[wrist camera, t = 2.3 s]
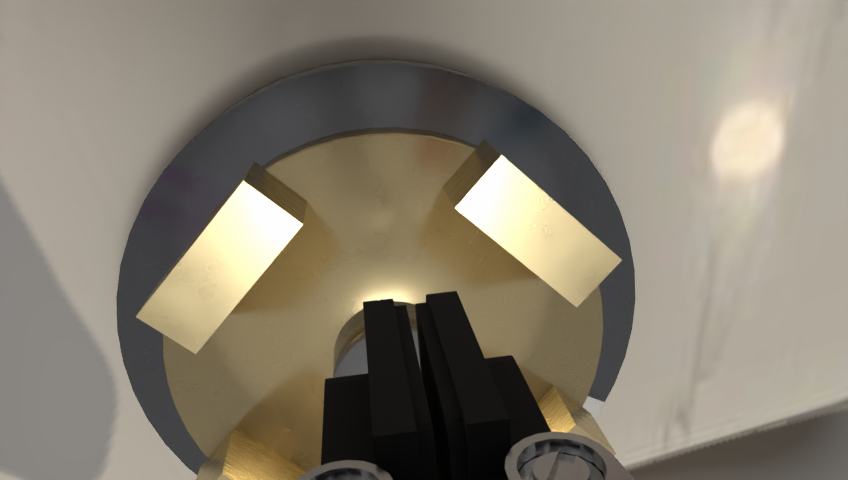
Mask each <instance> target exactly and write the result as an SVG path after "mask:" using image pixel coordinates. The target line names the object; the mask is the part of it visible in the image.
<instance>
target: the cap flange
mask: <svg viewBox="0 0 848 480" xmlns="http://www.w3.org/2000/svg"><path fill="white" fill-rule="evenodd" d="M380 127H402V128H412V129H422V130H429V131H433V132H437V133H441V134H446V135H450V136H454V137H457V138H460V139H462V140H465V141H467V142H470V143H472V144H475V145H479V144H480V143H481V142H482V141H483V139H485V140H486V141H487V142H488V143H489V144H490V145H491V146H493V147H494V148H495V149H496V150H497V151H498V152H499V153H501V154H502V155H503V156H504V157H505V158H506V159H507V160H509V161H510V162H511V163H512V164H513V165H514V166H516V167H517V168H518V169H519V170H520V171H521V172H522V173H524V174H525V175H526V176H527V177H528V178H529V179H531V180H532V181H533V182H534V183H535V184H536V185H537V186H538V187H540V188H541V189H542V190H543V191H544V192H545V193H546V194H548V195H549V196H550V197H551V198H552V199H553V200H554V201H556V202H557V203H558V204H559V205H560V206H561V207H562V208H564V209H565V210H566V211H567V212H568V213H569V214H570V215H572V216H573V217H574V218H575V219H576V220H577V221H578V222H580V223H581V224H582V225H583V226H584V227H585V228H586V229H588V230H589V231H590V232H591V233H592V234H593V235H594V236H596V237H597V238H598V239H599V240H600V241H601V242H602V243H603V244H605V245H606V246H607V247H608V248H609V249H610V250H611V251H613V252H614V253H615V254H616V255H617V256H618V257H619V258H620V259H622V261H621V262H620V263H619V264H618V265H617V266H616V267H615V268H614V269H613V270H612V271H611V272H610V273H609V275H608V276H607V277H606V278H605V279H604V280H603V281H602V282H601V283H600V284H599V289H600V295H601V300H602V313H603V335H602V346H601V354H600V358H599V362H598V366H597V371H596V375H595V378H594V381H593V383H592V386H591V388H590V391H589V394H588V396H587V399H586V401H585V403H584V405H583V406H582V407H583V408H584V409H586V410H587V411H588V412H590V413H591V415H592V416H593V418H596V417H597V415H598V414H599V412H600V411H601V409H602V407H603V406H604V404H605V400H606V398H607V396H608V395H609V393H610V391H611V389H612V387H613V385H614V383H615V381H616V378H617V376H618V373H619V371H620V368H621V366H622V363H623V360H624V358H625V354H626V350H627V346H628V342H629V338H630V334H631V330H632V324H633V314H634V305H635V276H634V265H633V259H632V253H631V247H630V242H629V238H628V235H627V232H626V228H625V225H624V222H623V219H622V216H621V213H620V210H619V208H618V206H617V204H616V202H615V200H614V198H613V196H612V194H611V192H610V190H609V188H608V186H607V184H606V182H605V181H604V179H603V178H602V176H601V175H600V173H599V172H598V171H597V169H596V168H595V166H594V165H593V163H592V162H591V160H590V159H589V158H588V156H587V155H586V154H585V153H584V152H583V151H582V150H581V149H580V148H579V146H578V145H577V144H576V143H575V142H574V141H573V140H572V139H571V138H570V137H569V136H568V135H567V134H566V133H565V131H563V130H562V129H561V128H560V127H558V126H557V125H556V124H555V123H553V122H552V121H551V120H550V119H548V118H547V117H546V116H545V115H543V114H542V113H541V112H540V111H538V110H537V109H535V108H533V107H532V106H530V105H528V104H527V103H525V102H523V101H521V100H520V99H518V98H516V97H515V96H513V95H511V94H510V93H508V92H506V91H504V90H502V89H500V88H498V87H496V86H494V85H492V84H489V83H487V82H484V81H482V80H480V79H477V78H475V77H472V76H470V75H468V74H465V73H463V72H460V71H456V70H452V69H448V68H444V67H441V66H437V65H433V64H429V63H422V62H413V61H405V60H397V59H376V60H354V61H348V62H341V63H335V64H328V65H323V66H320V67H316V68H313V69H309V70H306V71H303V72H299V73H296V74H293V75H290V76H287V77H285V78H283V79H281V80H279V81H276V82H274V83H272V84H270V85H267V86H265V87H263V88H261V89H259V90H257V91H255V92H254V93H252V94H251V95H249V96H247V97H246V98H244V99H243V100H241V101H240V102H238V103H236V104H235V105H233V106H232V107H230V108H229V109H227V110H226V111H225V112H224V113H223V114H222V115H220V116H219V117H218V118H217V119H216V120H214V121H213V122H212V123H211V124H210V125H209V126H207V127H206V128H205V129H204V130H203V131H202V132H200V133H199V134H198V135H197V136H196V137H195V138H194V139H192V140H191V141H190V142H189V143H188V144H187V145H186V146H185V147H184V149H183V150H182V151H181V152H180V153H179V154H178V155H177V156H176V158H175V159H174V160H173V161H172V162H171V163H170V164H169V166H168V167H167V168H166V169H165V170H164V171H163V173H162V174H161V176H160V178H159V179H158V181H157V182H156V184H155V185H154V187H153V188H152V190H151V191H150V193H149V194H148V196H147V197H146V199H145V201H144V203H143V205H142V207H141V209H140V211H139V214H138V216H137V218H136V220H135V222H134V225H133V227H132V229H131V231H130V234H129V238H128V241H127V245H126V248H125V252H124V255H123V259H122V262H121V266H120V275H119V283H118V291H117V328H118V336H119V341H120V346H121V352H122V357H123V362H124V365H125V368H126V371H127V374H128V377H129V380H130V383H131V386H132V388H133V391H134V393H135V395H136V397H137V399H138V401H139V403H140V405H141V407H142V409H143V411H144V413H145V415H146V417H147V418H148V420H149V421H150V423H151V424H152V426H153V427H154V428H155V430H156V431H157V433H158V434H159V435H160V437H161V438H162V440H163V441H164V443H165V444H166V445H167V446H168V447H169V448H170V449H171V450H172V451H173V452H174V453H175V455H176V456H177V457H178V458H179V459H180V460H181V461H182V462H183V463H184V464H185V465H186V466H187V467H188V468H189V469H190V470H192V471H193V472H194V473H195V474H197V475H198V472H199V469H200V466H201V465H202V464H203V463H204V462H205V461H206V460H207V457H206V455H205V454H204V453H203V452H202V451H201V450H200V448H199V447H198V445H197V444H196V442H195V441H194V439H193V438H192V437H191V435H190V434H189V432H188V431H187V429H186V427H185V425H184V423H183V421H182V419H181V417H180V415H179V413H178V411H177V409H176V407H175V404H174V401H173V397H172V394H171V391H170V388H169V385H168V382H167V376H166V369H165V363H164V357H163V334H162V333H161V332H159V331H158V330H156V329H154V328H153V327H151V326H150V325H148V324H146V323H145V322H143V321H141V320H140V319H138V318H137V317H136V315H137V314H138V312H139V311H140V309H141V308H142V306H143V305H144V303H145V302H146V300H147V299H148V297H149V296H150V294H151V293H152V291H153V290H154V288H155V287H156V285H157V284H158V283H159V281H160V280H161V279H162V278H163V276H164V275H165V274H166V273H167V271H168V270H169V269H170V267H171V266H172V265H173V264H174V262H175V261H176V260H177V259H178V257H179V256H180V255H181V254H182V252H183V251H184V250H185V248H186V247H187V246H188V245H189V243H190V242H191V241H192V240H193V238H194V237H195V236H196V235H197V233H198V232H199V231H200V229H201V228H202V227H203V225H204V224H205V222H206V221H207V219H208V218H209V216H210V215H211V213H212V212H213V210H214V209H215V208H216V207H217V206H218V205H219V203H220V202H221V201H222V200H223V199H224V198H225V197H226V196H227V195H228V194H229V193H230V191H231V190H232V189H233V188H234V186H235V185H236V184H237V183H238V181H239V180H240V179H241V178H242V176H243V175H244V174H245V173H246V171H247V170H248V169H249V168H250V166H251V165H252V164H253V162H254V161H255V162H256V163H257V164H259V165H260V166H262V165H264V164H266V163H267V162H269V161H270V160H272V159H274V158H275V157H277V156H278V155H280V154H282V153H284V152H286V151H288V150H291V149H293V148H295V147H297V146H300V145H302V144H304V143H306V142H308V141H312V140H315V139H318V138H322V137H325V136H328V135H332V134H335V133H339V132H345V131H351V130H357V129H364V128H380Z"/></svg>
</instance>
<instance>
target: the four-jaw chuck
mask: <svg viewBox="0 0 848 480" xmlns="http://www.w3.org/2000/svg"><path fill="white" fill-rule="evenodd" d="M621 261H622V259H620V258H619V257H618V256H617V255H616V254H615V253H614V252H613V251H611V250H610V249H609V248H608V247H607V246H606V245H605V244H603V243H602V242H601V241H600V240H599V239H598V238H597V237H596V236H594V235H593V234H592V233H591V232H590V231H589V230H588V229H586V228H585V227H584V226H583V225H582V224H581V223H580V222H578V221H577V220H576V219H575V218H574V217H573V216H572V215H570V214H569V213H568V212H567V211H566V210H565V209H564V208H562V207H561V206H560V205H559V204H558V203H557V202H556V201H554V200H553V199H552V198H551V197H550V196H549V195H548V194H546V193H545V192H544V191H543V190H542V189H541V188H540V187H538V186H537V185H536V184H535V183H534V182H533V181H532V180H531V179H529V178H528V177H527V176H526V175H525V174H524V173H522V172H521V171H520V170H519V169H518V168H517V167H516V166H514V165H513V164H512V163H511V162H510V161H509V160H507V159H506V158H505V157H504V156H503V155H502V154H501V153H499V152H498V151H497V150H496V149H495V148H494V147H493V146H491V145H490V144H489V143H488V142H487V141H486V140H485V139H483V141H482V142H481V143H480V144H479V145H475V144H472V143H470V142H467V141H465V140H462V139H460V138H457V137H454V136H450V135H446V134H441V133H437V132H433V131H429V130H422V129H412V128H402V127H380V128H364V129H357V130H351V131H345V132H339V133H335V134H332V135H328V136H325V137H322V138H318V139H315V140H312V141H308V142H306V143H304V144H302V145H300V146H297V147H295V148H293V149H291V150H288V151H286V152H284V153H282V154H280V155H278V156H277V157H275V158H274V159H272V160H270V161H269V162H267V163H266V164H264V165H262V166H260V165H259V164H257V163H256V162H255V161H254V162H253V164H252V165H251V166H250V168H249V169H248V170H247V171H246V173H245V174H244V175H243V176H242V178H241V179H240V180H239V181H238V183H237V184H236V185H235V186H234V188H233V189H232V190H231V191H230V193H229V194H228V195H227V196H226V197H225V198H224V199H223V200H222V201H221V202H220V203H219V205H218V206H217V207H216V208H215V209H214V210H213V212H212V213H211V215H210V216H209V218H208V219H207V221H206V222H205V224H204V225H203V227H202V228H201V229H200V231H199V232H198V233H197V235H196V236H195V237H194V238H193V240H192V241H191V242H190V243H189V245H188V246H187V247H186V248H185V250H184V251H183V252H182V254H181V255H180V256H179V257H178V259H177V260H176V261H175V262H174V264H173V265H172V266H171V267H170V269H169V270H168V271H167V273H166V274H165V275H164V276H163V278H162V279H161V280H160V281H159V283H158V284H157V285H156V287H155V288H154V290H153V291H152V293H151V294H150V296H149V297H148V299H147V300H146V302H145V303H144V305H143V306H142V308H141V309H140V311H139V312H138V314H137V315H136V317H137V318H138V319H140V320H141V321H143V322H145V323H146V324H148V325H150V326H151V327H153V328H154V329H156V330H158V331H159V332H161V333H162V334H163V357H164V363H165V369H166V376H167V382H168V385H169V388H170V391H171V394H172V397H173V401H174V404H175V407H176V409H177V411H178V413H179V415H180V417H181V419H182V421H183V423H184V425H185V427H186V429H187V431H188V432H189V434H190V435H191V437H192V438H193V439H194V441H195V442H196V444H197V445H198V447H199V448H200V450H201V451H202V452H203V453H204V454H205V455H206V457H207V460H206V461H205V462H204V463H203V464H202V465H201V466H200V469H199V472H198V476H197V479H196V480H297V479H298V478H299V477H300V476H302V475H304V474H305V473H307V472H309V471H310V470H312V469H314V468H316V467H319V466H321V450H322V429H323V408H324V387H325V379H327V378H335V377H342V376H350V375H358V374H366V373H368V365H367V351H366V338H365V324H364V310H363V302H366V301H374V300H383V299H391V298H393V301H394V306H400V305H406V307H407V312H408V316H409V321H410V325H411V330H412V334H413V339H414V343H415V348H416V352H417V357H418V361H419V366H420V358H419V346H418V335H417V323H416V311H415V304H417V303H425V302H426V294H434V293H442V292H451V291H457V293H458V296H459V298H460V300H461V303H462V305H463V307H464V310H465V312H466V315H467V317H468V319H469V322H470V324H471V327H472V329H473V331H474V334H475V336H476V339H477V341H478V343H479V346H480V348H481V350H482V353H483V355H484V358H492V357H500V356H508V355H512V356H513V357H514V359H515V361H516V363H517V365H518V367H519V368H520V370H521V372H522V374H523V376H524V378H525V380H526V382H527V384H528V386H529V388H530V390H531V392H532V394H533V396H534V398H535V400H536V402H537V404H538V406H539V408H540V410H541V412H542V414H543V416H544V418H545V420H546V422H547V424H548V426H549V428H550V430H551V432H569V433H573V434H577V435H581V436H585V437H588V438H590V439H592V440H594V441H596V442H598V443H600V444H601V445H602V446H604V447H605V448H606V449H607V450H608V451H610V452H611V453H612V454H613V456H614V455H615V454H616V453H615V452H614V450H613V448H612V447H611V445H610V444H609V442H608V440H607V439H606V437H605V435H604V434H603V432H602V431H601V429H600V427H599V426H598V424H597V423H596V421H595V419H594V418H593V416H592V415H591V413H590V412H588V411H587V410H586V409H584V408H583V407H582V406H583V405H584V403H585V401H586V399H587V396H588V394H589V391H590V388H591V386H592V383H593V381H594V378H595V375H596V371H597V366H598V362H599V358H600V354H601V346H602V335H603V313H602V300H601V295H600V289H599V284H600V283H601V282H602V281H603V280H604V279H605V278H606V277H607V276H608V275H609V273H610V272H611V271H612V270H613V269H614V268H615V267H616V266H617V265H618V264H619V263H620V262H621ZM420 370H421V369H420Z"/></svg>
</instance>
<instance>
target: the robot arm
mask: <svg viewBox="0 0 848 480" xmlns="http://www.w3.org/2000/svg"><path fill="white" fill-rule="evenodd" d="M363 310H364V324H365V338H366V351H367V365H368V373H366V374H358V375H350V376H342V377H335V378H327V379H325V387H324V408H323V429H322V450H321V466H319V467H316V468H314V469H312V470H310V471H309V472H307V473H305V474H304V475H302V476H300V477H299V478H298V479H297V480H635V479H634V478H633V477H632V476H631V475H630V474H629V473H628V471H627V470H626V469H625V468H624V467H623V466H622V465H621V463H620V462H619V461H618V460H617V459H616V458H615V457H614V456H613V454H612V453H611V452H610V451H608V450H607V449H606V448H605V447H604V446H602V445H601V444H600V443H598V442H596V441H594V440H592V439H590V438H588V437H585V436H581V435H577V434H573V433H569V432H551V430H550V428H549V426H548V424H547V422H546V420H545V418H544V416H543V414H542V412H541V410H540V408H539V406H538V404H537V402H536V400H535V398H534V396H533V394H532V392H531V390H530V388H529V386H528V384H527V382H526V380H525V378H524V376H523V374H522V372H521V370H520V368H519V367H518V365H517V363H516V361H515V359H514V357H513V356H512V355H508V356H500V357H492V358H484V355H483V353H482V350H481V348H480V346H479V343H478V341H477V339H476V336H475V334H474V331H473V329H472V327H471V324H470V322H469V319H468V317H467V315H466V312H465V310H464V307H463V305H462V303H461V300H460V298H459V296H458V293H457V291H451V292H442V293H434V294H426V302H425V303H417V304H415V311H416V323H417V335H418V346H419V358H420V366H419V361H418V357H417V352H416V348H415V343H414V339H413V334H412V330H411V325H410V321H409V316H408V312H407V307H406V305H400V306H394V301H393V298H391V299H383V300H374V301H366V302H363ZM420 369H421V370H420Z"/></svg>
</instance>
